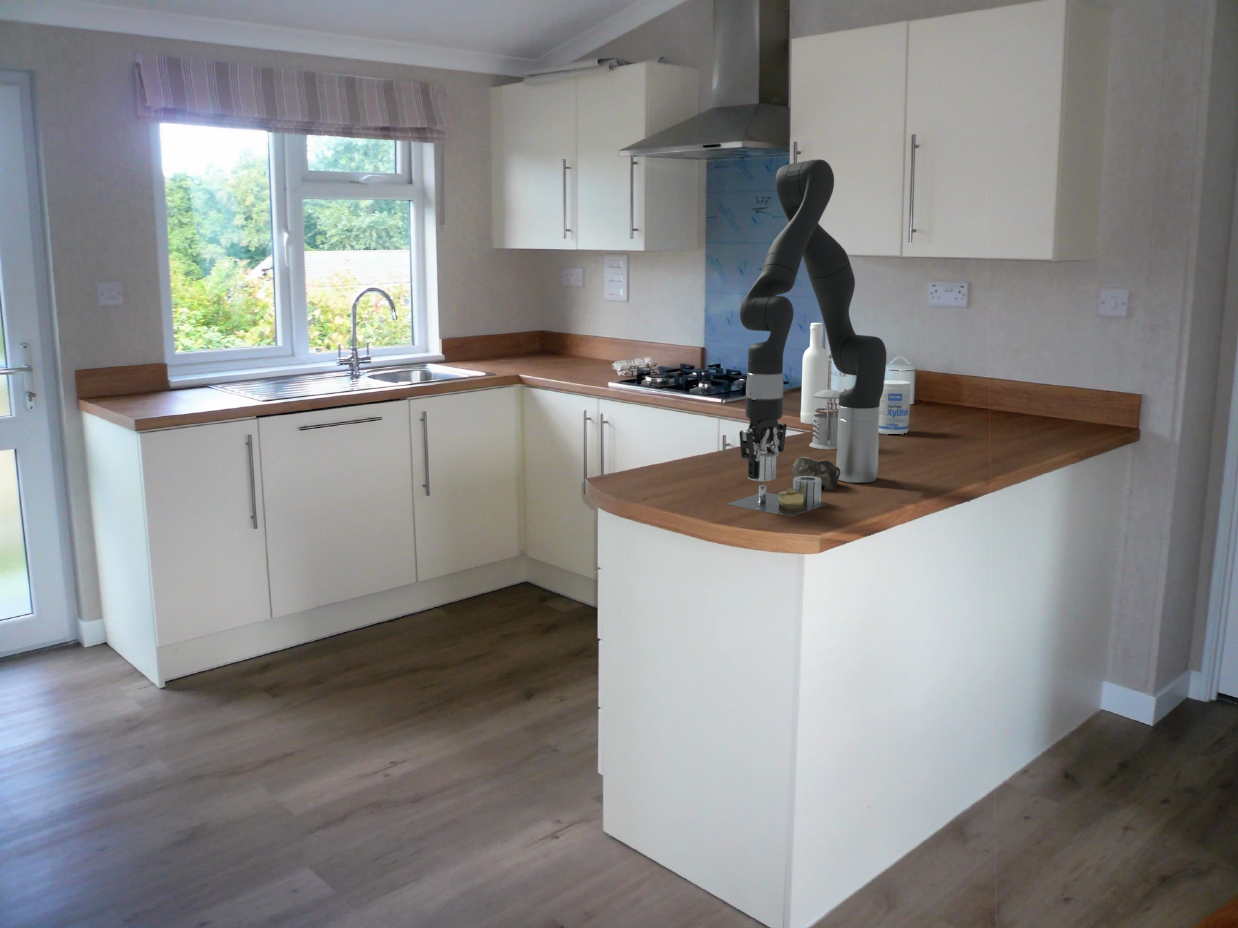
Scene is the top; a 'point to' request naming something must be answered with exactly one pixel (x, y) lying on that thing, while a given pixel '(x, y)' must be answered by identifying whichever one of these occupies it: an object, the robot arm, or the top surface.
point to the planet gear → (767, 467)
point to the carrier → (777, 502)
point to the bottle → (814, 375)
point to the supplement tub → (894, 407)
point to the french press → (826, 420)
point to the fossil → (817, 471)
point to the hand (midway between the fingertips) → (762, 475)
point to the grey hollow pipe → (809, 489)
